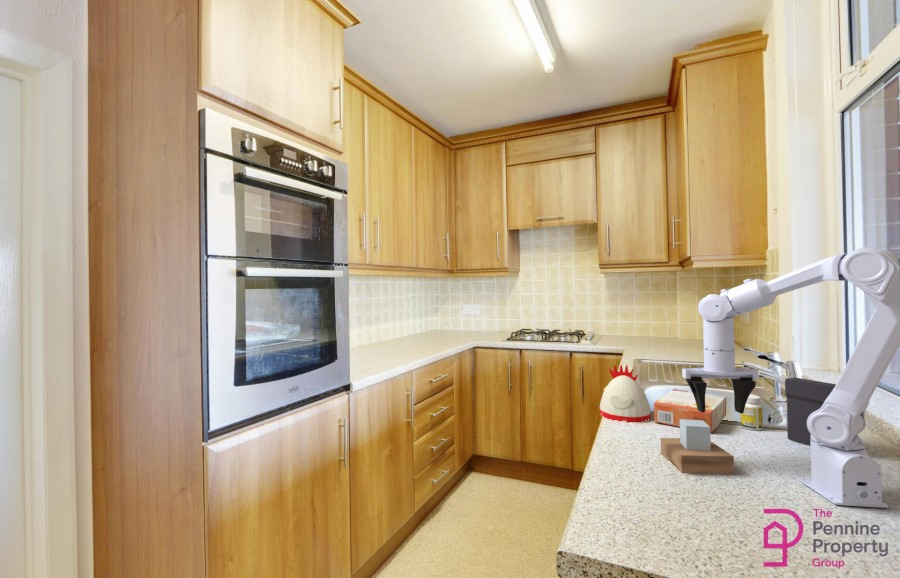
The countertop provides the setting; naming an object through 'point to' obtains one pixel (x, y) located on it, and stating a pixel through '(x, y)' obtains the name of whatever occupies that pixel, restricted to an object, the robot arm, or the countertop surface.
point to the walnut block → (697, 458)
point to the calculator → (803, 405)
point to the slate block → (695, 435)
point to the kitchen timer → (624, 398)
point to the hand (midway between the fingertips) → (720, 411)
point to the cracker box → (689, 408)
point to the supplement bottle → (752, 414)
